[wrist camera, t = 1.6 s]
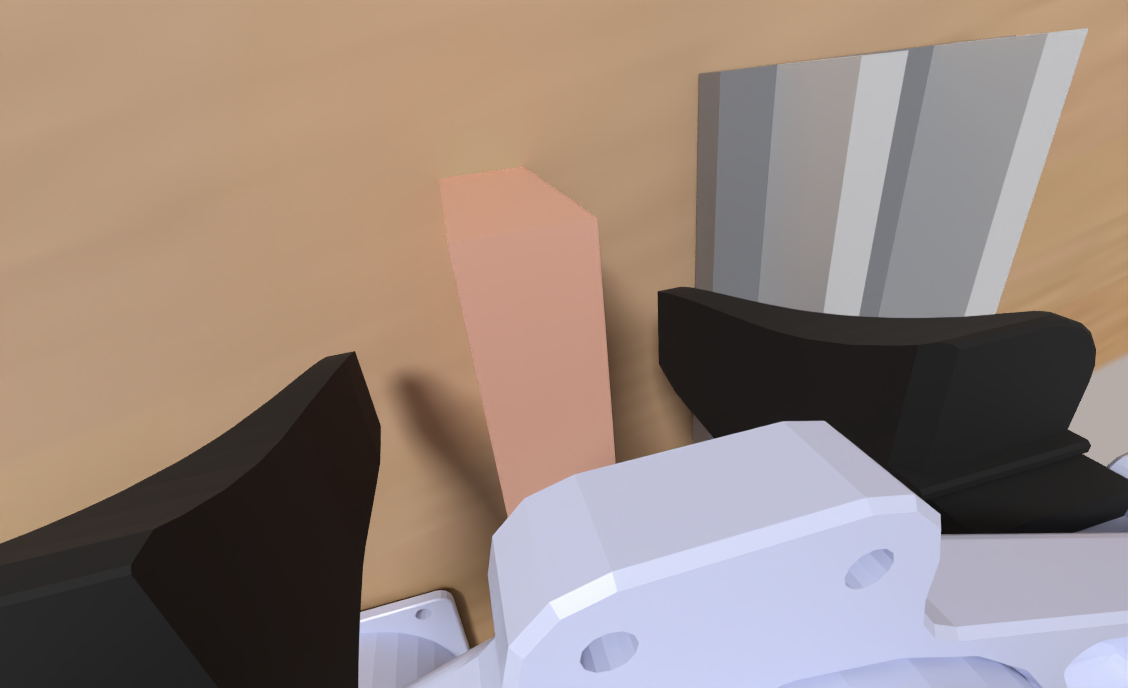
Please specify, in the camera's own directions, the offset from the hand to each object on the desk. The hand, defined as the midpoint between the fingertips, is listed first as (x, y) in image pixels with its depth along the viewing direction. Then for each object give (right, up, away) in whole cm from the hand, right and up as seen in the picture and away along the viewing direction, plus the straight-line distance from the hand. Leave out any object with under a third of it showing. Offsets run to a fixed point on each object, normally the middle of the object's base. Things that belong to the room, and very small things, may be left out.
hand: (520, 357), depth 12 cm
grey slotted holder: (+9, +3, +3) cm, 10 cm away
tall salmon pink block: (-1, +1, +2) cm, 2 cm away
